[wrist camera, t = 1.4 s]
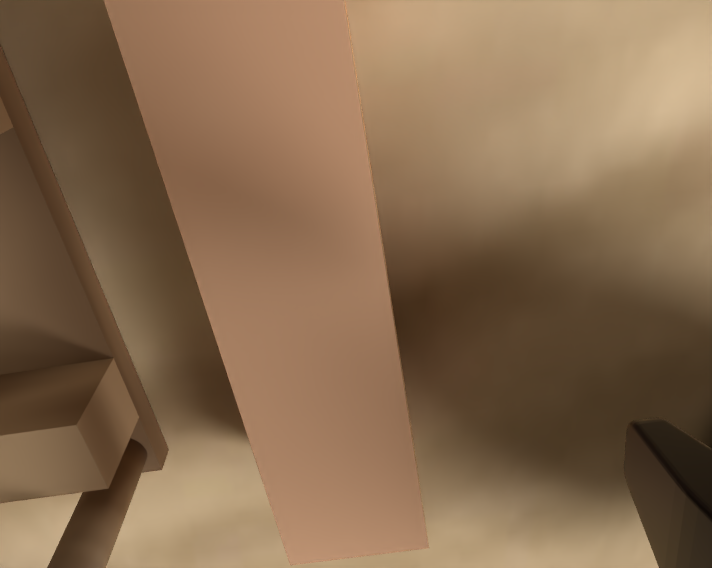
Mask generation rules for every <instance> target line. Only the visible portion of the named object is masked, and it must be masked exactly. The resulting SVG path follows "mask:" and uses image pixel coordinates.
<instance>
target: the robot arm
mask: <svg viewBox="0 0 712 568" xmlns="http://www.w3.org/2000/svg"><path fill="white" fill-rule="evenodd" d="M624 472H625V478H626V481H627V485H628V487H629V490H630V493H631V495H632V498H633V501H634V503H635V506H636V508H637V511H638V514H639V516H640V519H641V522H642V524H643V527H644V529H645V532H646V535H647V537H648V540H649V543H650V545H651V548H652V550H653V553H654V556H655V558H656V561H657V563H658V566H659V568H712V449H711V448H710V447H708V446H707V445H705V444H704V443H702V442H700V441H699V440H697V439H696V438H694V437H692V436H691V435H689V434H688V433H686V432H685V431H683V430H681V429H680V428H678V427H677V426H675V425H674V424H672V423H670V422H669V421H667V420H665V419H662V418H650V419H642V420H635V421H632V422H630V423H629V425H628V427H627V432H626V446H625V460H624Z"/></svg>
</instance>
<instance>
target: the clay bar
mask: <svg viewBox="0 0 712 568" xmlns="http://www.w3.org/2000/svg"><path fill="white" fill-rule="evenodd" d="M104 3H105V6H106V9H107V12H108V15H109V18H110V21H111V24H112V27H113V30H114V33H115V36H116V39H117V42H118V46H119V49H120V52H121V55H122V58H123V61H124V64H125V67H126V70H127V73H128V76H129V79H130V82H131V85H132V88H133V91H134V94H135V97H136V100H137V103H138V106H139V109H140V112H141V115H142V118H143V121H144V124H145V127H146V130H147V133H148V136H149V139H150V142H151V145H152V148H153V151H154V154H155V157H156V160H157V163H158V167H159V170H160V173H161V176H162V179H163V182H164V185H165V188H166V191H167V194H168V197H169V200H170V203H171V206H172V209H173V212H174V215H175V218H176V221H177V224H178V227H179V230H180V233H181V236H182V239H183V242H184V245H185V248H186V251H187V254H188V257H189V260H190V263H191V266H192V269H193V272H194V275H195V278H196V281H197V284H198V287H199V291H200V294H201V297H202V300H203V303H204V306H205V309H206V312H207V315H208V318H209V321H210V324H211V327H212V330H213V333H214V336H215V339H216V342H217V345H218V348H219V351H220V354H221V357H222V360H223V363H224V366H225V369H226V372H227V375H228V378H229V381H230V384H231V387H232V390H233V393H234V396H235V399H236V402H237V405H238V408H239V412H240V415H241V418H242V421H243V424H244V427H245V430H246V433H247V436H248V439H249V442H250V445H251V448H252V451H253V454H254V457H255V460H256V463H257V466H258V469H259V472H260V475H261V478H262V481H263V484H264V487H265V490H266V493H267V496H268V499H269V502H270V505H271V508H272V511H273V514H274V517H275V520H276V523H277V526H278V529H279V532H280V536H281V539H282V542H283V545H284V548H285V551H286V554H287V557H288V560H289V563H290V565H297V564H305V563H313V562H321V561H329V560H337V559H345V558H353V557H361V556H369V555H377V554H385V553H393V552H401V551H409V550H417V549H426V548H429V545H428V538H427V531H426V524H425V517H424V510H423V503H422V496H421V490H420V483H419V476H418V469H417V462H416V455H415V448H414V441H413V435H412V428H411V422H410V415H409V409H408V403H407V396H406V390H405V383H404V377H403V370H402V364H401V357H400V351H399V344H398V338H397V331H396V325H395V319H394V312H393V306H392V299H391V293H390V286H389V280H388V273H387V267H386V260H385V254H384V248H383V241H382V235H381V228H380V222H379V215H378V209H377V202H376V196H375V189H374V183H373V176H372V170H371V164H370V157H369V151H368V144H367V138H366V131H365V125H364V118H363V112H362V105H361V99H360V93H359V86H358V80H357V73H356V67H355V60H354V54H353V47H352V41H351V34H350V28H349V21H348V15H347V9H346V2H345V0H104Z"/></svg>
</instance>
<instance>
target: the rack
mask: <svg viewBox="0 0 712 568" xmlns="http://www.w3.org/2000/svg"><path fill="white" fill-rule="evenodd" d="M168 450H169V449H168V447H167V444H166V442H165V440H164V437H163V435H162V432H161V430H160V428H159V425H158V423H157V420H156V418H155V416H154V413H153V411H152V408H151V406H150V404H149V401H148V399H147V396H146V394H145V392H144V389H143V387H142V384H141V382H140V380H139V377H138V375H137V372H136V370H135V368H134V365H133V363H132V360H131V358H130V356H129V353H128V351H127V348H126V346H125V344H124V341H123V339H122V336H121V334H120V332H119V329H118V327H117V324H116V322H115V319H114V317H113V315H112V312H111V310H110V307H109V305H108V303H107V300H106V298H105V295H104V293H103V291H102V288H101V286H100V283H99V281H98V279H97V276H96V274H95V271H94V269H93V267H92V264H91V262H90V259H89V257H88V255H87V252H86V250H85V247H84V245H83V243H82V240H81V238H80V235H79V233H78V231H77V228H76V226H75V223H74V221H73V219H72V216H71V214H70V211H69V209H68V207H67V204H66V202H65V199H64V197H63V195H62V192H61V190H60V187H59V185H58V183H57V180H56V178H55V175H54V173H53V171H52V168H51V166H50V163H49V161H48V159H47V156H46V154H45V151H44V149H43V147H42V144H41V142H40V139H39V137H38V135H37V132H36V130H35V127H34V125H33V123H32V120H31V118H30V115H29V113H28V111H27V108H26V106H25V103H24V101H23V99H22V96H21V94H20V91H19V89H18V86H17V84H16V82H15V79H14V77H13V74H12V72H11V70H10V67H9V65H8V62H7V60H6V58H5V55H4V53H3V50H2V48H1V46H0V503H5V502H13V501H20V500H27V499H35V498H42V497H50V496H57V495H65V494H72V493H79V492H83V493H82V495H81V497H80V500H79V502H78V504H77V506H76V508H75V510H74V512H73V514H72V517H71V519H70V521H69V523H68V525H67V527H66V529H65V531H64V533H63V536H62V538H61V540H60V542H59V544H58V546H57V548H56V550H55V553H54V555H53V557H52V559H51V561H50V563H49V565H48V567H47V568H106V565H107V563H108V560H109V557H110V555H111V552H112V550H113V547H114V544H115V542H116V539H117V536H118V534H119V531H120V528H121V526H122V523H123V520H124V518H125V515H126V512H127V510H128V507H129V505H130V502H131V499H132V497H133V494H134V491H135V489H136V486H137V483H138V481H139V478H140V475H141V473H142V472H149V471H157V470H162V468H163V465H164V462H165V459H166V456H167V453H168Z"/></svg>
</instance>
